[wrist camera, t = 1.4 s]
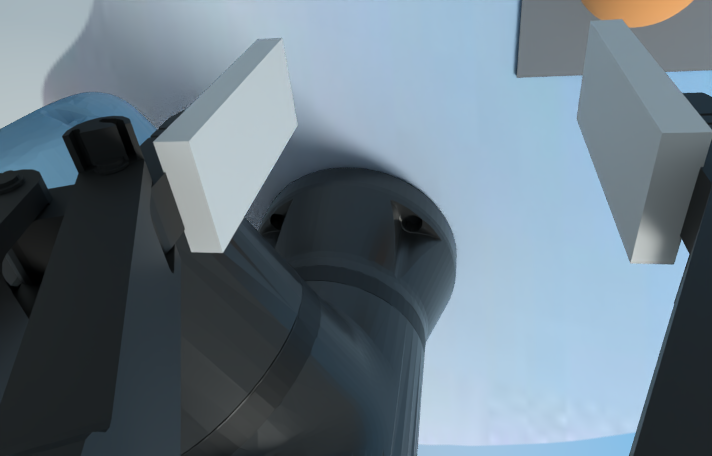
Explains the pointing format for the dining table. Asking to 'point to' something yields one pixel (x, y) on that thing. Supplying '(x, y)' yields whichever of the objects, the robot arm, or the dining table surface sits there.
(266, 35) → the dining table surface
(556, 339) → the dining table surface
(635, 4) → the ball
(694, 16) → the mat
